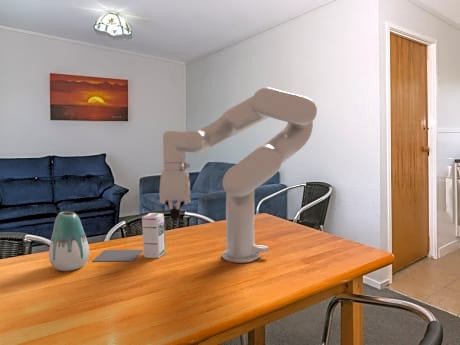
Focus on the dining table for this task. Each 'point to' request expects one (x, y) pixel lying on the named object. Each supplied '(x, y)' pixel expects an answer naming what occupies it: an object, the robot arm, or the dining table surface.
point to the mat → (118, 256)
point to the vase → (68, 243)
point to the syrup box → (153, 235)
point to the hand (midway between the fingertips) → (175, 219)
